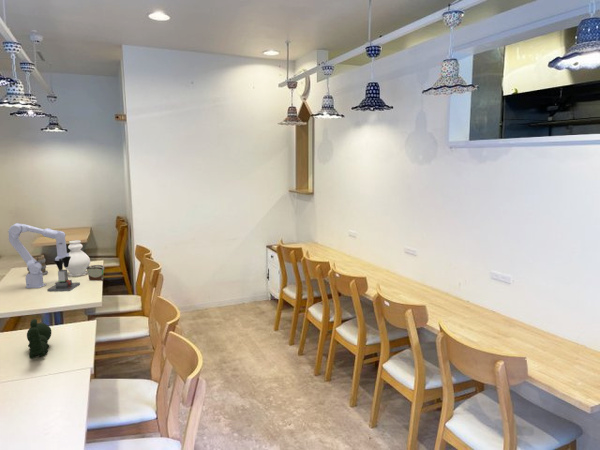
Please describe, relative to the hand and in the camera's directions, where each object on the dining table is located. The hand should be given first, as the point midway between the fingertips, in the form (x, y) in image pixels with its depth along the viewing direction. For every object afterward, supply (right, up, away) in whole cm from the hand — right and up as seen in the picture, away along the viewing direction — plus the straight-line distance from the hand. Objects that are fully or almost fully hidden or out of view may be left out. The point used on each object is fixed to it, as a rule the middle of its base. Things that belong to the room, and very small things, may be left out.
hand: (63, 268), depth 282 cm
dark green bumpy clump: (+47, -27, -100) cm, 114 cm away
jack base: (+6, -12, -9) cm, 16 cm away
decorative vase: (-3, -7, +24) cm, 25 cm away
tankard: (-31, -8, +20) cm, 38 cm away
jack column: (+6, -7, -10) cm, 13 cm away
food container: (+19, -9, +11) cm, 23 cm away
